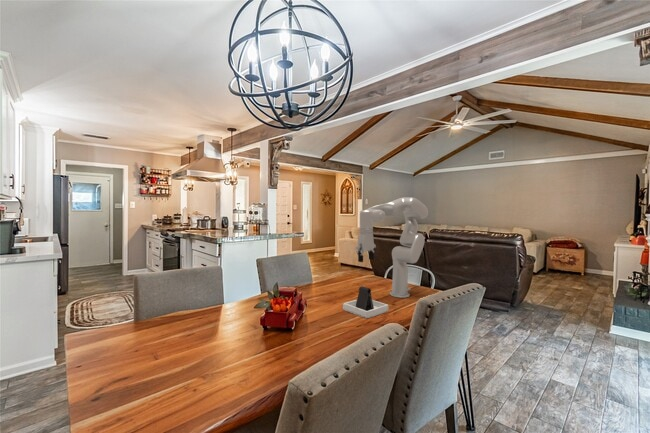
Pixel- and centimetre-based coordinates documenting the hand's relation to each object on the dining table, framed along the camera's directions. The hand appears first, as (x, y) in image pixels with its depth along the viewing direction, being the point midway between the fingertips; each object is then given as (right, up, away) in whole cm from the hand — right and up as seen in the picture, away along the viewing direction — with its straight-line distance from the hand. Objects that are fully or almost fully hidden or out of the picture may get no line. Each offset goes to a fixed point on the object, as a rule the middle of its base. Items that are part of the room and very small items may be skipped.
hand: (366, 260), depth 175 cm
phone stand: (-3, -25, -11) cm, 28 cm away
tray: (-2, -26, -11) cm, 28 cm away
